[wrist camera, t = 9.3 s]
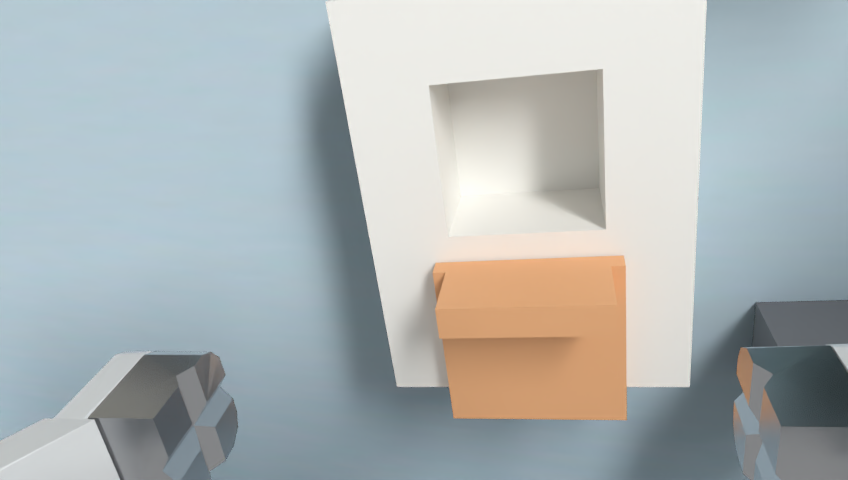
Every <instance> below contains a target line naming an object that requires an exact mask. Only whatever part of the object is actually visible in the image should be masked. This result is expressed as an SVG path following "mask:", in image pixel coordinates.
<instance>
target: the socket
mask: <svg viewBox="0 0 848 480" xmlns="http://www.w3.org/2000/svg"><path fill="white" fill-rule="evenodd" d="M326 7H327V13H328V18H329V23H330V29H331V34H332V40H333V45H334V50H335V56H336V61H337V66H338V72H339V77H340V83H341V88H342V93H343V99H344V104H345V109H346V115H347V120H348V126H349V131H350V136H351V142H352V147H353V152H354V158H355V163H356V169H357V174H358V179H359V185H360V190H361V196H362V201H363V206H364V212H365V217H366V222H367V228H368V233H369V239H370V244H371V249H372V255H373V260H374V265H375V271H376V276H377V282H378V287H379V292H380V298H381V303H382V308H383V314H384V319H385V325H386V330H387V335H388V341H389V346H390V351H391V357H392V362H393V368H394V373H395V378H396V384H397V387H449V383H448V376H447V369H446V362H445V355H444V348H443V341H442V339H439V333H438V326H437V320H436V313H435V308H436V304H437V300H436V293H435V286H434V279H433V270H434V267H435V264H436V263H442V262H468V261H493V260H519V259H545V258H571V257H596V256H622V255H624V259H625V264H626V383H627V387H690V373H691V350H692V327H693V304H694V282H695V259H696V236H697V213H698V190H699V168H700V145H701V122H702V99H703V76H704V53H705V31H706V8H707V0H328V1H326Z"/></svg>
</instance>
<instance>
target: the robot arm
mask: <svg viewBox="0 0 848 480" xmlns="http://www.w3.org/2000/svg"><path fill="white" fill-rule="evenodd" d="M736 374H737V377H738V379H739V382H740V385H741V387H742V390H743V393H742V394H741V395H740V396H739V397H738V398H737V399H736V400H735V401H734V413H733V428H734V441H735V447H736V452H737V456H738V460H739V463H740V466H741V470H742V473H743V474H744V475H745V476H746V477H748V478H749V479H750V480H848V344H828V345H825V346H781V347H741V349H740V352H739V355H738V361H737V372H736ZM224 377H225V372H224V369H223V367H222V364H221V361H220V358H219V357H218V356H217V355H215V354H213V353H212V352H175V351H154V352H150V351H126V352H122V353H119V354H116V355H115V356H114V357H113V358H112V359H111V360H110V361H109V362H108V363H107V364H106V365H105V366H104V367H103V368H102V369H101V370H100V371H99V372H98V373H97V374H96V375H95V376H94V377H93V378H92V379H91V380H90V381H89V382H88V383H87V384H86V385H85V386H84V387H83V388H82V389H81V391H80V392H79V393H78V394H77V395H76V396H75V397H74V398H73V399H72V400H71V401H70V402H69V403H68V404H67V405H66V406H65V407H64V408H63V409H62V410H61V411H60V412H59V413H58V414H57V415H56V416H55V417H54V418H53V419H42V420H40V421H38V422H36V423H34V424H32V425H30V426H28V427H26V428H24V429H22V430H20V431H18V432H16V433H15V434H13V435H11V436H9V437H7V438H5V439H3V440H1V441H0V480H212V478H211V475H210V471H211V470H212V469H214V468H215V467H217V466H218V465H220V464H221V463H223V462H224V461H225V460H226V459H227V457H228V455H229V454H230V452H231V450H232V448H233V446H234V443H235V438H236V433H237V429H238V421H237V410H236V407H235V404H234V400H233V398H232V397H231V396H230V395H229V394H228V393H227V392H225V391H224V390H223V389H222V388H221V387H220V385H221V383H222V381H223V379H224Z"/></svg>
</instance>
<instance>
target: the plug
mask: <svg viewBox="0 0 848 480" xmlns="http://www.w3.org/2000/svg"><path fill="white" fill-rule="evenodd" d="M828 344H848V300H839V301H797V302H756V307H755V318H754V329H753V340H752V347H781V346H825V345H828Z"/></svg>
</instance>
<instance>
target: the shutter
mask: <svg viewBox="0 0 848 480" xmlns="http://www.w3.org/2000/svg"><path fill="white" fill-rule="evenodd" d="M433 279H434V286H435V293H436V300H437V304H436V308H435V313H436V320H437V326H438V333H439V339H442V341H443V348H444V355H445V362H446V369H447V376H448V383H449V390H450V396H451V403H452V410H453V417H454V418H469V419H570V420H627V383H626V264H625V259H624V255H622V256H596V257H571V258H545V259H519V260H493V261H468V262H442V263H436V264H435V267H434V270H433Z"/></svg>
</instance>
